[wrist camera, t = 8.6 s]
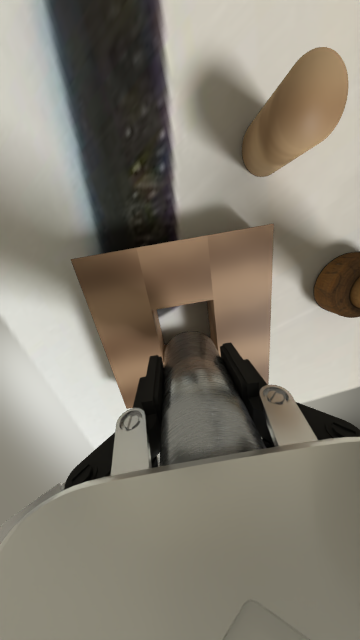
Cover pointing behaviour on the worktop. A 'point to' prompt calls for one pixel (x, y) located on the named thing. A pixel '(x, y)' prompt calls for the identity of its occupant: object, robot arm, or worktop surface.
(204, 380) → the long pin
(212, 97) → the worktop surface
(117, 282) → the hole plate
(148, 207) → the worktop surface
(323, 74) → the short pin
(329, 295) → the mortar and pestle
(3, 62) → the worktop surface
